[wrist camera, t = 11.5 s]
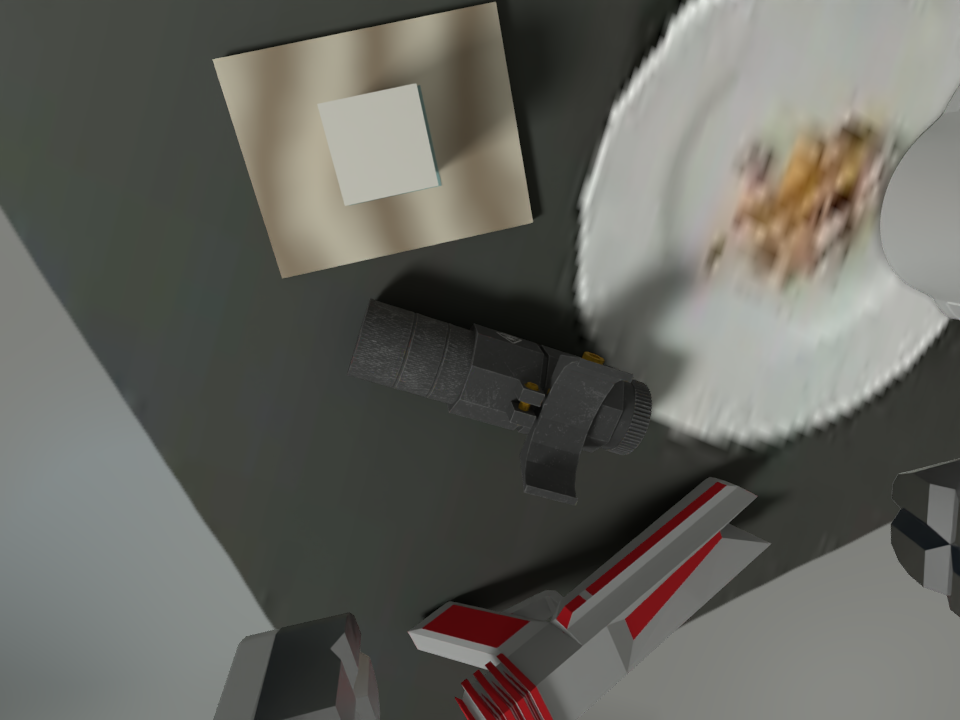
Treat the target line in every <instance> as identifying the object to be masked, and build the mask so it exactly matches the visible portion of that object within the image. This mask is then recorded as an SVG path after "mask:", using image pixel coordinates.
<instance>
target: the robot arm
mask: <svg viewBox="0 0 960 720" xmlns="http://www.w3.org/2000/svg"><path fill="white" fill-rule="evenodd" d="M880 233H881V241H882V246H883V250H884V253H885V256H886V259H887V261H888V263H889V265H890V267H891V268H892V270H893V271H894V272H895V274H896V275H897V276H898V277H899V278H900V279H901V280H902V281H903V282H904V283H906V284H907V285H909V286H910V287H912V288H914V289H916V290H918V291H921V292H923V293H925V294H927V295H929V296H930V297H931V298H933V300H934V301H935V303H936V304H937V306H938V307H939V308H940V310H941V311H942V312H943V313H944V314H945V315H946V316H947V317H949V318H952V319H957V320H960V86H959V87H958V89H957V90H956V92H955V93H954V95H953V97H952V99H951V100H950V102H949V104H948V106H947V108H946V109H945V111H944V113H943V114H942V115H941V117H940V118H939V119H938V120H937V121H936V122H935V123H934V124H933V125H932V126H931V127H930V128H929V129H928V130H927V131H925V132H924V133H923V134H922V135H921V136H920V137H919V138H918V139H917V140H916V141H915V143H914V144H913V145H912V146H911V147H910V149H909V150H908V151H907V152H906V154H905V155H904V157H903V158H902V160H901V161H900V163H899V164H898V166H897V168H896V170H895V172H894V174H893V176H892V178H891V180H890V182H889V185H888V188H887V190H886V194H885V197H884V201H883V205H882V211H881V220H880ZM892 500H893V501H894V502H895V503H896V504H897V505H898V506H899V507H900V508H901V509H900V511H899V512H898V514H897V515H896V517H895V518H894V520H893V521H892V523H891V544H892V546H893V549H894V551H895V554H896V556H897V558H898V561H899V562H900V564H901V565H902V566H903V568H904V569H905V570H906V571H907V573H908V574H909V575H910V576H911V577H912V578H913V579H915V580H916V581H917V582H918V583H919V584H920V585H922V586H923V587H925V588H927V589H930V590H933V591H936V592H939V593H942V594H944V595H947V597H948V602H949V607H950V610H951V611H953V612H954V613H955V614H956V615H958V616H959V617H960V458H959V459H955V460H951V461H947V462H943V463H939V464H935V465H931V466H927V467H924V468H920V469H916V470H912V471H908V472H904V473H900V474H898V475H897V477H896V479H895V480H894V482H893V485H892ZM360 643H361V632H360V629H359V626H358V624H357V621H356V619H355V616H354V615H353V614H351V613H350V612H348V613H344V614H339V615H335V616H331V617H326V618H322V619H317V620H313V621H309V622H304V623H300V624H296V625H291V626H287V627H282V628H281V629H276V630H272V631H267V632H263V633H259V634H255V635H250V636H246V637H245V638H244V639H243V640H242V641H241V642H240V643H239V645H238V647H237V650H236V653H235V657H234V659H233V663H232V666H231V668H230V671H229V674H228V678H227V680H226V683H225V686H224V689H223V692H222V695H221V698H220V701H219V704H218V707H217V710H216V713H215V716H214V719H213V720H380V706H379V696H378V687H377V682H376V678H375V673H374V670H373V667H372V664H371V660H370V658H369V657H368V656H366V655H365V654H363V653H361V652H360Z"/></svg>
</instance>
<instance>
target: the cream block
mask: <svg viewBox="0 0 960 720" xmlns="http://www.w3.org/2000/svg"><path fill="white" fill-rule="evenodd" d="M317 105H318V109H319V113H320V116H321V120H322V124H323V128H324V131H325V135H326V139H327V142H328V146H329V150H330V153H331V157H332V161H333V164H334V168H335V172H336V175H337V179H338V183H339V186H340V190H341V194H342V197H343V201H344V205H345V206H347V205H352V204H357V203H361V202H366V201H370V200H375V199H380V198H384V197H389V196H393V195H398V194H402V193H407V192H412V191H416V190H421V189H425V188H430V187H434V186H439V185H438V180H437V176H436V171H435V167H434V162H433V157H432V153H431V148H430V144H429V139H428V134H427V130H426V125H425V121H424V116H423V111H422V107H421V102H420V98H419V93H418V88H417V84H416V83H415V84H410V85H405V86H400V87H396V88H391V89H386V90H381V91H377V92H372V93H367V94H362V95H358V96H353V97H348V98H343V99H338V100H334V101H329V102H324V103H319V104H317Z"/></svg>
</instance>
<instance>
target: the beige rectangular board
mask: <svg viewBox="0 0 960 720" xmlns="http://www.w3.org/2000/svg"><path fill="white" fill-rule="evenodd" d="M213 62H214V66H215V69H216V72H217V75H218V78H219V81H220V84H221V87H222V91H223V94H224V97H225V100H226V103H227V106H228V109H229V113H230V116H231V119H232V122H233V125H234V128H235V131H236V134H237V138H238V141H239V144H240V147H241V150H242V153H243V156H244V160H245V163H246V166H247V169H248V172H249V175H250V178H251V182H252V185H253V188H254V191H255V194H256V197H257V200H258V203H259V207H260V210H261V213H262V216H263V219H264V222H265V225H266V229H267V232H268V235H269V238H270V241H271V244H272V247H273V251H274V254H275V257H276V260H277V263H278V266H279V269H280V272H281V276H282V278H287V277H291V276H296V275H300V274H304V273H309V272H313V271H318V270H322V269H327V268H331V267H336V266H340V265H345V264H349V263H354V262H358V261H363V260H367V259H372V258H376V257H381V256H385V255H390V254H394V253H399V252H403V251H408V250H412V249H417V248H421V247H426V246H430V245H435V244H439V243H444V242H448V241H453V240H457V239H462V238H466V237H471V236H475V235H480V234H484V233H489V232H493V231H498V230H502V229H507V228H511V227H516V226H520V225H524V224H529V223H533V219H532V213H531V207H530V201H529V195H528V189H527V183H526V177H525V171H524V165H523V159H522V153H521V147H520V142H519V136H518V130H517V124H516V118H515V112H514V106H513V100H512V94H511V88H510V82H509V76H508V70H507V64H506V58H505V53H504V47H503V41H502V35H501V29H500V23H499V17H498V11H497V5H496V2H491V3H487V4H482V5H477V6H472V7H467V8H462V9H457V10H452V11H447V12H443V13H438V14H433V15H428V16H423V17H418V18H413V19H408V20H403V21H398V22H394V23H389V24H384V25H379V26H374V27H369V28H364V29H359V30H354V31H350V32H345V33H340V34H335V35H330V36H325V37H320V38H315V39H310V40H305V41H301V42H296V43H291V44H286V45H281V46H276V47H271V48H266V49H261V50H257V51H252V52H247V53H242V54H237V55H232V56H227V57H222V58H217V59H213ZM415 83H416V84H417V88H418V93H419V98H420V102H421V107H422V111H423V116H424V121H425V125H426V130H427V134H428V139H429V144H430V148H431V153H432V157H433V162H434V167H435V171H436V176H437V180H438V185H439V186H434V187H430V188H425V189H421V190H416V191H412V192H407V193H402V194H398V195H393V196H389V197H384V198H380V199H375V200H370V201H366V202H361V203H357V204H352V205H347V206H345V205H344V201H343V197H342V194H341V190H340V186H339V183H338V179H337V175H336V172H335V168H334V164H333V161H332V157H331V153H330V150H329V146H328V142H327V139H326V135H325V131H324V128H323V124H322V120H321V116H320V113H319V109H318V105H317V104H319V103H324V102H329V101H334V100H338V99H343V98H348V97H353V96H358V95H362V94H367V93H372V92H377V91H381V90H386V89H391V88H396V87H400V86H405V85H410V84H415Z"/></svg>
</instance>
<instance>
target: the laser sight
mask: <svg viewBox="0 0 960 720" xmlns="http://www.w3.org/2000/svg"><path fill="white" fill-rule="evenodd" d="M604 361H605V360H604V359H603V358H601V357H600V356H598V355H596V354H593V353H590V352H584V354H583V356H582V358H581V357H578V356H575V355H572V354H569V353H565V352H562V351H559V350H556V349H553V348H550V347H547V346H543V345H540V344H537V343H534V342H531V341H528V340H525V339H521V338H518V337H515V336H512V335H509V334H506V333H503V332H499V331H496V330H493V329H490V328H487V327H484V326H481V325H477V324H473V325H472V327H471V328H470V330H468V329H465V328H462V327H459V326H455V325H453V324H450V323H447V322H443V321H440V320H436V319H433V318H430V317H427V316H424V315H421V314H418V313H414V312H412V311H408V310H405V309H402V308H398V307H395V306H392V305H389V304H386V303H383V302H379V301H377V300H374V299H371V298H370V301H369V304H368V307H367V310H366V313H365V316H364V319H363V322H362V325H361V329H360V332H359V335H358V338H357V342H356V345H355V348H354V352H353V355H352V359H351V362H350V366H349V369H348V373H347V375H349V376H353V377H357V378H360V379H363V380H367V381H371V382H375V383H378V384H382V385H385V386H388V387H393V388H395V389H399V390H403V391H406V392H410V393H413V394H416V395H420V396H423V397H425V396H426V398H430V399H434V400H438V401H441V402H445V403H447V405H448V410H449V412H450V413H453V414H457V415H460V416H464V417H467V418H471V419H475V420H478V421H482V422H485V423H489V424H492V425H496V426H499V427H503V428H506V429H510V430H514V429H515V428H516V427H517V430H518V432H521V433H524V434H528V436H527V438H526V440H525V443H524V445H523V448H522V450H521V453H520V461H521V469H522V478H523V487H524V492H525V493H529V494H533V495H537V496H541V497H544V498H548V499H552V500H556V501H560V502H564V503H568V504H571V505H576V503H577V501H578V498H577V497H576V493H575V475H576V469H577V465H578V460H579V456H580V453H581V450H585V451H588V452H593V451H595V450H597V449H598V448H600V447H602V448H603V449H605V450H607V451H610V452H614V453H617V454H621V455H624V454H625V455H626V454H628V453H630V452H632V451H633V450H635V448H637V446H638V445H639V443H640V442H641V440H642V439H643V436H644V435H645V433H646V430H647V428H648V425H649V421H650V417H651V409H652V407H651V406H652V403H651V402H652V400H651V394H650V391H649V389H648V387H647V385H645V384H644V383H642V382H639V381H636V380H633V377H634V375H632V374H629V373H626V372H623V371H620V370H617V369H614V368H613V367H609V366H606V365H603V363H604Z"/></svg>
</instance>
